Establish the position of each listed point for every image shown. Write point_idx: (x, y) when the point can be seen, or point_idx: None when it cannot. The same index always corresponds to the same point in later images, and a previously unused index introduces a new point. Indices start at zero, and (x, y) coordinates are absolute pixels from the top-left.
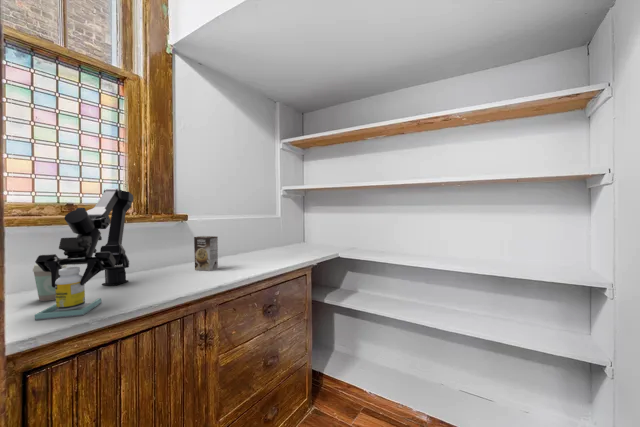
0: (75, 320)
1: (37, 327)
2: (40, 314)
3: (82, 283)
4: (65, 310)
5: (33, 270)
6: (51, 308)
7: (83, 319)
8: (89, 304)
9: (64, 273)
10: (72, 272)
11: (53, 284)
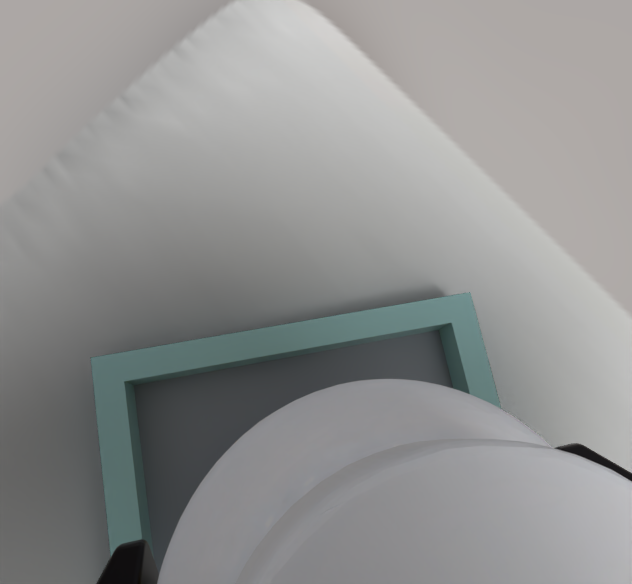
0: (95, 250)
1: (300, 153)
2: (429, 300)
3: (116, 566)
4: None
5: None
6: None
7: (36, 263)
8: None
9: (420, 443)
10: (260, 547)
11: None
